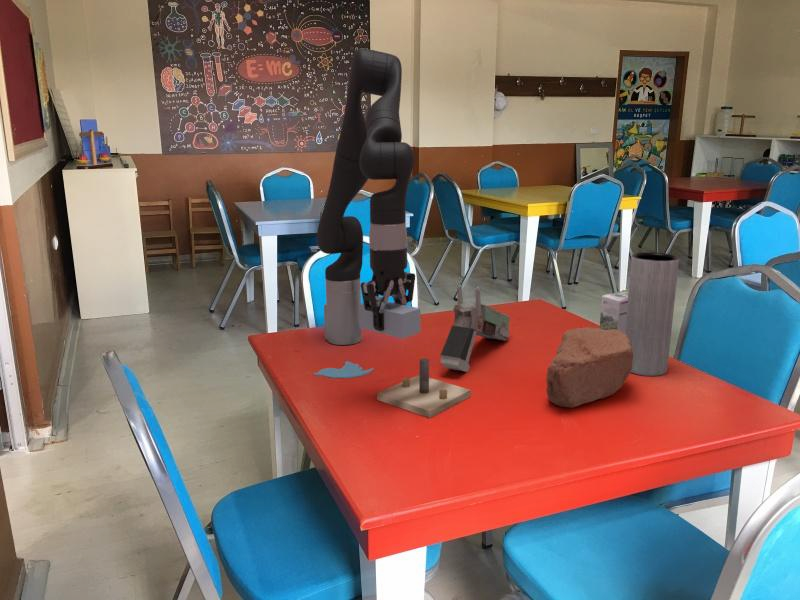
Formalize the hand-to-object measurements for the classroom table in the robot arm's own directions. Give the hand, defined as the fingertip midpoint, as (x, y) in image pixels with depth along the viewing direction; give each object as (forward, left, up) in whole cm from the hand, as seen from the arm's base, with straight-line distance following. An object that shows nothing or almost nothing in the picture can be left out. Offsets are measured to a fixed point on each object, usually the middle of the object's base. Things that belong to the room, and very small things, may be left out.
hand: (389, 326), depth 134 cm
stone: (+30, +28, -16) cm, 44 cm away
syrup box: (+23, +60, -16) cm, 66 cm away
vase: (+34, +52, -16) cm, 64 cm away
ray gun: (-1, +34, -16) cm, 38 cm away
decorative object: (-19, +5, -16) cm, 25 cm away
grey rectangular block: (0, 0, -1) cm, 1 cm away
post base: (+5, +5, -16) cm, 17 cm away
